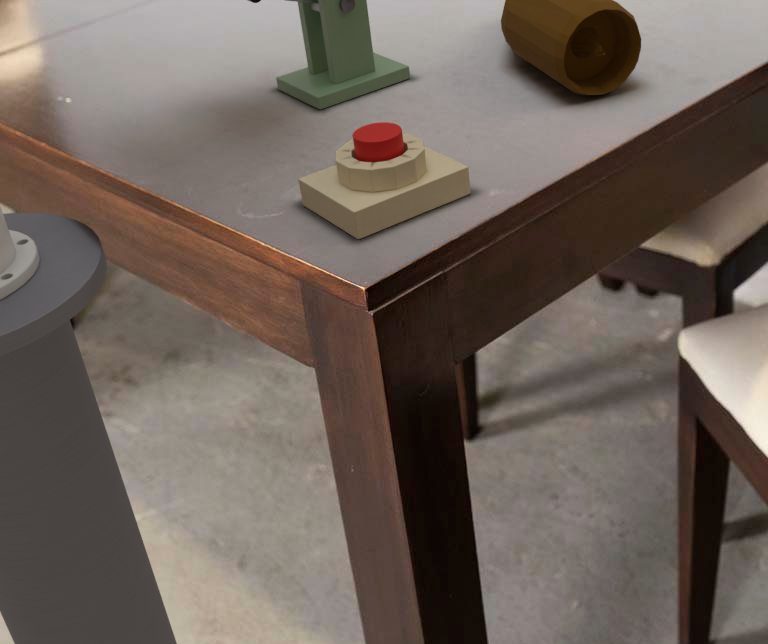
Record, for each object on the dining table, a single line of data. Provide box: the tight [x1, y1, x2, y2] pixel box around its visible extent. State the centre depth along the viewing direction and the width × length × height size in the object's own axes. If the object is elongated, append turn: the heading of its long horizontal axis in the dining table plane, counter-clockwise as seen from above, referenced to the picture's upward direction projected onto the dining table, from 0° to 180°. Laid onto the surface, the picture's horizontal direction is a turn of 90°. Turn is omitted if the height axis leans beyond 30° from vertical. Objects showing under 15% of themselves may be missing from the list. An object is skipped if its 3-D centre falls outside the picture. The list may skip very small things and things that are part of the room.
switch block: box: [298, 132, 471, 240], centre depth 82 cm, size 10×8×4 cm
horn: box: [500, 0, 642, 96], centre depth 102 cm, size 8×10×25 cm
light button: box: [352, 121, 404, 163], centre depth 81 cm, size 4×4×2 cm
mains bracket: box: [275, 0, 411, 110], centre depth 102 cm, size 10×8×10 cm
